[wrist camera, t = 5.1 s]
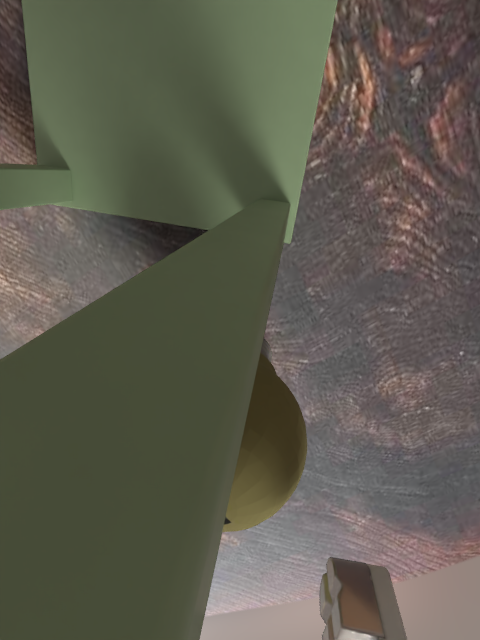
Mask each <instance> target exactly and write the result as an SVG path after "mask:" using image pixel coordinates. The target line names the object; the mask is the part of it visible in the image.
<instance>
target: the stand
mask: <svg viewBox="0 0 480 640" xmlns="http://www.w3.org/2000/svg"><path fill="white" fill-rule="evenodd" d="M21 1H22V11H23V21H24V32H25V42H26V52H27V63H28V73H29V83H30V93H31V104H32V114H33V124H34V135H35V145H36V155H37V165H27V164H1V163H0V210H4V209H13V208H21V207H30V206H38V205H47V204H52V205H58V206H64V207H70V208H76V209H82V210H88V211H94V212H100V213H106V214H113V215H119V216H125V217H131V218H137V219H143V220H149V221H155V222H161V223H167V224H173V225H179V226H185V227H192V228H198V229H204V230H209V231H207V232H205V233H204V234H202V235H201V236H199V237H197V238H196V239H194V240H193V241H191V242H189V243H188V244H186V245H184V246H183V247H181V248H180V249H178V250H176V251H175V252H173V253H172V254H170V255H168V256H167V257H165V258H163V259H162V260H160V261H159V262H157V263H155V264H154V265H152V266H151V267H149V268H147V269H146V270H144V271H143V272H141V273H139V274H138V275H136V276H134V277H133V278H131V279H130V280H128V281H126V282H125V283H123V284H122V285H120V286H118V287H117V288H115V289H113V290H112V291H110V292H109V293H107V294H105V295H104V296H102V297H101V298H99V299H97V300H96V301H94V302H92V303H91V304H89V305H88V306H86V307H84V308H83V309H81V310H80V311H78V312H76V313H75V314H73V315H71V316H70V317H68V318H67V319H65V320H63V321H62V322H60V323H59V324H57V325H55V326H54V327H52V328H51V329H49V330H47V331H46V332H44V333H42V334H41V335H39V336H38V337H36V338H34V339H33V340H31V341H30V342H28V343H26V344H25V345H23V346H21V347H20V348H18V349H17V350H15V351H13V352H12V353H10V354H9V355H7V356H5V357H4V358H2V359H0V640H199V639H200V634H201V629H202V625H203V620H204V615H205V611H206V606H207V601H208V597H209V592H210V587H211V582H212V578H213V573H214V568H215V564H216V559H217V554H218V550H219V545H220V540H221V535H222V531H223V526H224V521H225V517H226V512H227V507H228V503H229V498H230V493H231V488H232V484H233V479H234V474H235V470H236V465H237V460H238V456H239V451H240V446H241V441H242V437H243V432H244V427H245V423H246V418H247V413H248V409H249V404H250V399H251V394H252V390H253V385H254V380H255V376H256V371H257V366H258V362H259V357H260V352H261V347H262V343H263V338H264V333H265V329H266V324H267V319H268V315H269V310H270V305H271V300H272V296H273V291H274V286H275V282H276V277H277V272H278V268H279V263H280V258H281V253H282V249H283V244H284V243H291V240H292V234H293V229H294V224H295V219H296V214H297V208H298V203H299V198H300V193H301V188H302V183H303V177H304V172H305V167H306V162H307V157H308V152H309V146H310V141H311V136H312V131H313V126H314V120H315V115H316V110H317V105H318V100H319V95H320V89H321V84H322V79H323V74H324V69H325V64H326V58H327V53H328V48H329V43H330V38H331V32H332V27H333V22H334V17H335V12H336V7H337V1H338V0H21Z"/></svg>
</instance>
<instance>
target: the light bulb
mask: <svg viewBox="0 0 480 640" xmlns="http://www.w3.org/2000/svg"><path fill="white" fill-rule="evenodd" d="M271 359H272V351H271V348H270V345H269V344H268V342H267V341H266V340H265V339H264V338H263V343H262V347H261V352H260V357H259V362H258V366H257V371H256V376H255V380H254V385H253V390H252V394H251V399H250V404H249V409H248V413H247V418H246V423H245V427H244V432H243V437H242V441H241V446H240V451H239V456H238V460H237V465H236V470H235V474H234V479H233V484H232V488H231V493H230V498H229V503H228V507H227V512H226V517H225V521H224V526H223V531H222V532H230V531H239V530H244V529H248V528H251V527H253V526H256V525H258V524H259V523H261V522H263V521H265V520H266V519H268V518H270V517H271V516H273V515H274V514H275V513H276V512H277V511H278V510H279V509H280V508H281V507H282V506H283V505H284V504H285V503H286V502H287V501H288V500H289V498H290V497H291V495H292V494H293V492H294V491H295V489H296V487H297V485H298V483H299V481H300V478H301V475H302V472H303V470H304V465H305V460H306V454H307V437H306V426H305V422H304V419H303V416H302V412H301V410H300V407H299V405H298V402H297V401H296V399H295V397H294V395H293V394H292V392H291V391H290V390H289V388H288V387H287V385H286V384H285V383H284V382H283V381H282V380H281V379H280V378H279V377H278V376H277V375H276V371H275V369H274V367H273V365H272V364H271Z"/></svg>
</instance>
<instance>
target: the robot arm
mask: <svg viewBox="0 0 480 640" xmlns="http://www.w3.org/2000/svg"><path fill="white" fill-rule="evenodd" d="M326 567H327V573H325V574H323V576H322V580H321V584H320V594H319V596H320V615H321V617H322V619H323V620H324V622H325V623H326V626H325V629H324V632H323V635H322V639H323V640H407V637H406V633H405V630H404V626H403V622H402V618H401V615H400V611H399V607H398V604H397V600H396V596H395V593H394V589H393V585H392V581H391V578H390V574H389V572H388V570H387V569H386V568H385V567H382V566H376V565H370V564H366V563H362V562H356V561H350V560H344V559H339V558H333V557H330V558H329V559H328V561H327V564H326Z"/></svg>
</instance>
